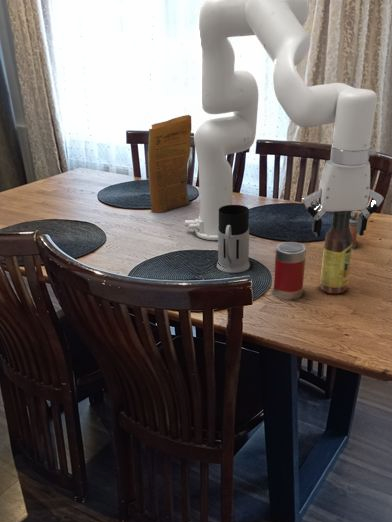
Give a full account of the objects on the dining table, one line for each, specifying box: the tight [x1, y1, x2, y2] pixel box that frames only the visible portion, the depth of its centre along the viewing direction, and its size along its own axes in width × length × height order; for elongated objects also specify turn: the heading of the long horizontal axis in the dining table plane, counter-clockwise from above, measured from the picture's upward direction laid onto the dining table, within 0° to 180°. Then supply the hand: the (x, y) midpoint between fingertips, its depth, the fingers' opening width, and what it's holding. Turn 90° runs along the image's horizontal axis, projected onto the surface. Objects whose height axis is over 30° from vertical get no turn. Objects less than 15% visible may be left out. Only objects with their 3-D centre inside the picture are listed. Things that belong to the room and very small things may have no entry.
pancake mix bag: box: [147, 114, 193, 213], centre depth 171 cm, size 7×19×28 cm, turn 131°
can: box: [273, 241, 307, 301], centre depth 122 cm, size 7×7×12 cm
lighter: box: [349, 211, 359, 250], centre depth 146 cm, size 8×3×10 cm, turn 5°
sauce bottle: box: [319, 211, 353, 295], centre depth 121 cm, size 6×6×20 cm
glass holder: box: [216, 204, 251, 274], centre depth 132 cm, size 9×14×15 cm, turn 167°
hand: (338, 234), depth 119 cm, fingers open, 9 cm apart
